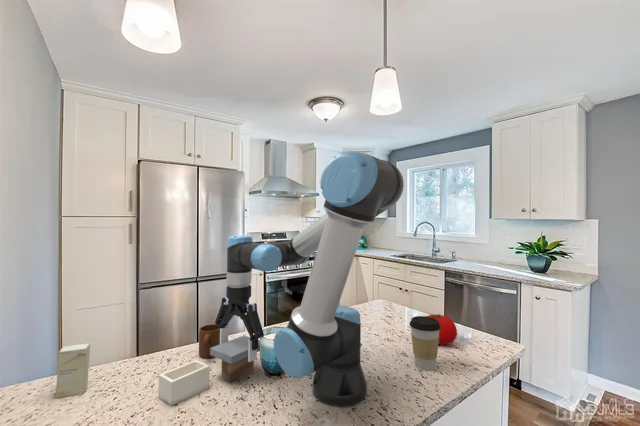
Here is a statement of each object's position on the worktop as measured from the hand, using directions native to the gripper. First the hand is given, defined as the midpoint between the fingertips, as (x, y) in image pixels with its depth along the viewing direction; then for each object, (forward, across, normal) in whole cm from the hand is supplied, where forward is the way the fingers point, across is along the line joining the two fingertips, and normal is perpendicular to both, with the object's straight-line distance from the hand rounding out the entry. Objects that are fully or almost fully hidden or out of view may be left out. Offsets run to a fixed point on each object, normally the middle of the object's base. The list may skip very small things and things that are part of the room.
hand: (237, 354), depth 93 cm
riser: (+6, 0, 0) cm, 6 cm away
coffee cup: (+6, -45, -40) cm, 61 cm away
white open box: (+6, +4, +15) cm, 17 cm away
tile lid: (-1, 0, 0) cm, 1 cm away
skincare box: (+7, +29, +33) cm, 44 cm away
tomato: (+6, -43, -64) cm, 78 cm away
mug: (+7, +18, -2) cm, 19 cm away
